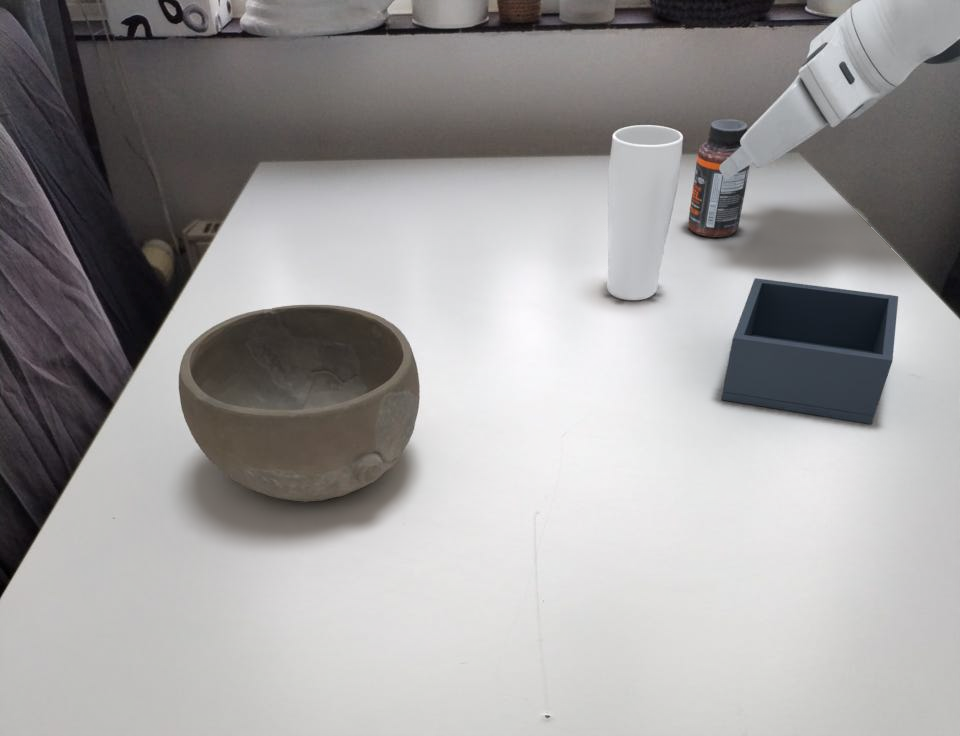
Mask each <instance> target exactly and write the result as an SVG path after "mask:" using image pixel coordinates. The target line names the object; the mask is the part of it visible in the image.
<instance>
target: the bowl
mask: <svg viewBox="0 0 960 736" xmlns="http://www.w3.org/2000/svg"><path fill="white" fill-rule="evenodd" d="M420 386H421V385H420V376H419V369H418V365H417V361H416V358H415V355H414V352H413V349H412V346H411V344H410V342H409V341H408V338H407V337H406V336H405V334H404V332H402V331H401V329H400V328H398V327H397V326H396V325H395V324H394V323H392V322H390V321H389V320H387V319H386V318H384V317H382V316H380V315H378V314H375V313H372V312H370V311H367V310H363V309H359V308H355V307H348V306H342V305H333V304H292V305H283V306H277V307H272V308H265V309H257V310H254V311H249V312H245V313H242V314H239V315H235V316H232V317H230V318H227V319H226V320H224V321H220V322H219V323H217V324H215V325H213V326H212V327H210V328H209V329H207V330H206V331H204V332H203V333H201V334H200V335H199V336H197V338H195V339H194V340H193V341H192V342H191V344H190V345H189V346H188V347H187V348H186V349H185V351H184V354H183V355H182V359H181V361H180V364H179V370H178V394H179V401H180V407H181V411H182V415H183V417H184V421H185V423H186V426H187V427H188V429H189V432H190V434H191V436H192V438H193V440H194V441H195V443H196V445H197V446H198V448H199V449H200V450H201V452H202V453H203V454H204V455H205V456H206V457H207V459H208V460H209V461H210V462H211V464H213V465H214V466H215V467H216V468H217V470H219V471H220V472H221V473H222V474H224V475H225V476H227V477H228V478H230V479H231V480H233V481H234V482H236V483H237V484H239V485H240V486H243V487H244V488H246V489H249V490H251V491H253V492H255V493H259V494H262V495H265V496H268V497H272V498H275V499H279V500H285V501H296V502H305V503H307V502H316V501H325V500H329V499H333V498H338V497H344V496H346V495H349V494H350V493H353V492H355V491H357V490H360V489H362V488H364V487H367V486H368V485H370V484H372V483H374V482H376V481H377V480H378V479H379V478H380V477H381V476H382V475H383V474H385V472H386V471H388V470H390V469H391V468H392V467H393V466H394V465H395V464H396V463H397V461H398V460H399V459H400V458H401V455H402V454H403V452H404V451H405V450H406V447H407V446H408V443H409V442H410V439H411V438H412V436H413V433H414V430H415V426H416V422H417V417H418V414H419V408H420V398H421V396H420V394H421V393H420V391H421V390H420V388H421V387H420Z"/></svg>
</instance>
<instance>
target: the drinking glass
mask: <svg viewBox="0 0 960 736" xmlns="http://www.w3.org/2000/svg"><path fill="white" fill-rule="evenodd" d="M683 135H684V134H682V132H680V131H679V130H677V129H674V128H671V127H667V126H663V125H654V124H653V125H652V124H640V125H639V124H638V125H637V124H636V125H630V126H629V125H628V126H625V127H621V128H619V129H617V130H615V131H614V132H613V134H612V136H611V137H612V138H611V145H610V155H609V164H608V179H607V181H608V183H607V274H606V275H607V276H606V288H607V291H608V293H609V294H610V295H611V296H613V297H615V298H617V299H620V300H625V301H641V300H646V299H648V298H650V297H652V296H654V295H655V294H656V293H657V290H658V287H659V281H660V272H661V267H662V262H663V257H664V253H665V249H666V248H665V247H666V243H667V239H668V234H669V229H670V224H671V221H672V220H671V219H672V215H673V211H674V205H675V200H676V195H677V192H678V191H677V190H678V186H679V180H680V179H679V178H680V173H681V165H682V157H683V155H682V154H683V143H684V136H683Z"/></svg>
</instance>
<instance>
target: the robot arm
mask: <svg viewBox="0 0 960 736" xmlns="http://www.w3.org/2000/svg"><path fill="white" fill-rule="evenodd" d="M955 62H960V0H859V1H857V2H855V3H854V4H852V5H851V6H850V7H849V8H847V9H846V10H845V11H844V12H843V13H842V14H840V15H839V16H838V17H837V18H836V19H835V20H834V21H833V22H832V23H830V24H829V25H828V26H827V27H826V28H825V29H823V30H822V31H821V32H820V33H819V34H818V35H816V36H815V37H814V38H813V39H812V40H811V41H810V44H809V51H808V54H807V56H806V59H805V61H804V63H802V65H801V67H800V68H799V69H798V75H797V76H796V77H795V79H794V80H793V82H792V83H791V84H790V85H789V86H788V87H787V89H786V90H784V91H783V92H782V94H781V95H780V96H779V97H778V98H777V99H775V101H774V102H773V103H772V104H771V106H770V107H768V108H767V109H766V110H765V112H764V113H763V114H762V115H761V116H759V118H758V119H757V120H756V121H754V123H753V124H752V125H751V126H750V127H749V128H747V132H746V133H745V134H744V135H743V137H742V138H741V140H740V144H741V147H740V148H739V149H738V150H736V151H735V152H734V153H733V154H732V155H731V156H730V157H729V158H727V159H726V160H725V161H724V162H723V163H722V164H721V165H720V167H719V170H720V172H721V173H722V175H723V176H724V178H725V179H730V178H731V177H733V176H734V175H735V174H736V173H738V172H739V171H740V170H742V169H744V168H745V167H747V166H749V165H750V166H751V165H753V166H754V167H755V168H756V169H760V168H763V167H765V166H768V165H769V164H771V163H772V162H774V161H776V160H778V159H779V158H781V157H782V156H784V155H786V154H787V153H788V152H790V151H791V150H793V149H795V148H796V147H797V146H799V145H801V144H802V143H804V142H805V141H807V140H808V139H810V138H812V136H814V135H816V134H818V132H820V131H822V130H823V129H824V128H826V127H827V126H828V125H829V126H830V127H831V128H835V127H837V126H838V125H840V124H841V123H843V122H844V121H846V120H849V119H857V118H858V117H859V116H861V115H862V114H863V113H865V112H866V111H867V110H869V109H870V108H871V107H873V106H874V105H875V104H877V103H878V102H879V101H880V100H882V99H883V98H884V97H886V96H887V95H888V94H890V93H891V92H892V91H894V90H895V89H896V88H898V87H899V86H900V85H901V84H902V83H904V82H905V81H906V79H907V78H909V76H910V74H911V73H912V72H913V71H914V70H915V69H916V68H917V67H919V66H920V65H921V64H922V63H924V64H928V65H944V64H945V65H946V64H950V63H955Z"/></svg>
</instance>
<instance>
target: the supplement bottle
mask: <svg viewBox="0 0 960 736" xmlns="http://www.w3.org/2000/svg"><path fill="white" fill-rule="evenodd" d="M747 131H748V124H747V123H746V122H744V121H742V120H738V119H732V118H731V119H730V118H726V119H725V118H724V119H717V120H714V121H712V122H711V124H710V128H709V132H708V136H709V137H708V139H707V141H706V142H704V143H703V144H701V145H700V147H699V149H698V152H697V158H696V163H695V170H694V171H695V172H694V177H693V178H694V179H693V185H692V187H693V188H692V191H691V192H692V193H691V199H690V207H689V213H688V214H689V215H688V223H687V224H688V225H687V226H688V228H689V229H690V230H691V232H693V233H694V234H696V235H699V236H703V237H709V238H722V237H723V238H724V237H728V236H731V235H732V234H734V233H736V232H737V230H738V229H739V225H740V221H741V216H742V211H743V210H742V209H743V204H744V199H745V195H746V190H747V184H748V178H749V172H750V167H751V165H749V166H747V167H745V168H744V169H742V170H740V171H739V172H738V173H736V174H735V175H734V176H733V177H731V178H730V179H725V178H724V176H723V175H722V173H721V172H720V170H719V167H720V165H721V164H722V163H723V162H724V161H725V160H726V159H727V158H729V157H730V156H731V155H732V154H733V153H734V152H735V151H736V150H738V149H739V148H740V147H741V144H740V140H741V138H742V137H743V135H744V134H745V133H746V132H747Z"/></svg>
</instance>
